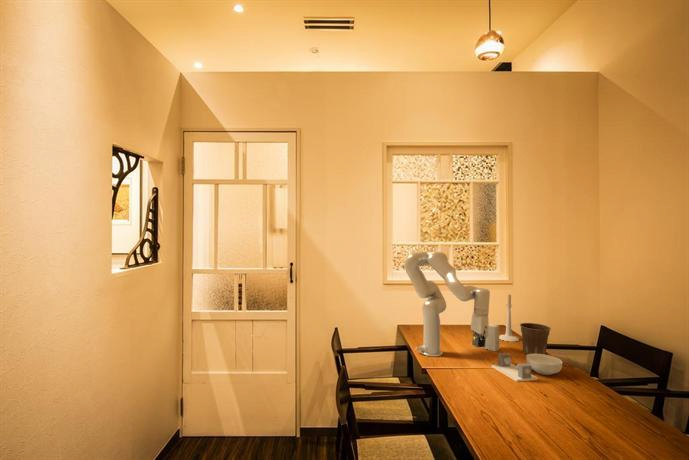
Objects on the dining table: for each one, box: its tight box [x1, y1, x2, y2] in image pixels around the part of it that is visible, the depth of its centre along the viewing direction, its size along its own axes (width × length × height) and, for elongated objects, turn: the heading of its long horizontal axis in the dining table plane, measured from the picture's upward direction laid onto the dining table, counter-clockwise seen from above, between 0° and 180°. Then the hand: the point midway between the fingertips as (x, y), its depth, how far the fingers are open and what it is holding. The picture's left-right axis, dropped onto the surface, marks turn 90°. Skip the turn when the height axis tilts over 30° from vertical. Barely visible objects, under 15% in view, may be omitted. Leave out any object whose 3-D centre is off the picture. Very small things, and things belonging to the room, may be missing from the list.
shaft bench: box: [491, 352, 539, 383], centre depth 196 cm, size 12×20×7 cm, turn 13°
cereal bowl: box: [525, 354, 563, 376], centre depth 198 cm, size 17×17×7 cm
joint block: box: [472, 333, 486, 348], centre depth 208 cm, size 7×4×6 cm
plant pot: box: [519, 322, 552, 355], centre depth 227 cm, size 16×16×16 cm
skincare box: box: [482, 323, 501, 352], centre depth 234 cm, size 8×6×15 cm
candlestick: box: [499, 293, 520, 343], centre depth 255 cm, size 13×13×30 cm
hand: (478, 344), depth 208 cm, fingers closed on joint block, 4 cm apart
